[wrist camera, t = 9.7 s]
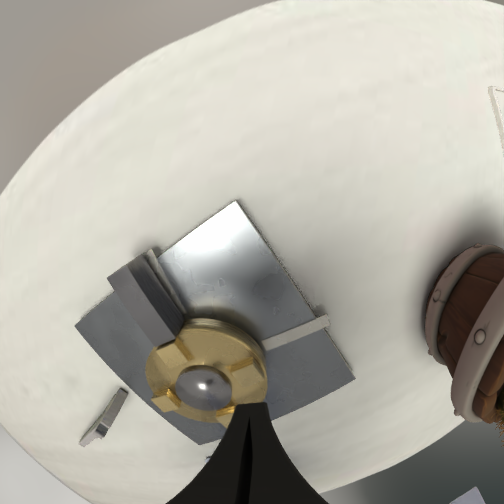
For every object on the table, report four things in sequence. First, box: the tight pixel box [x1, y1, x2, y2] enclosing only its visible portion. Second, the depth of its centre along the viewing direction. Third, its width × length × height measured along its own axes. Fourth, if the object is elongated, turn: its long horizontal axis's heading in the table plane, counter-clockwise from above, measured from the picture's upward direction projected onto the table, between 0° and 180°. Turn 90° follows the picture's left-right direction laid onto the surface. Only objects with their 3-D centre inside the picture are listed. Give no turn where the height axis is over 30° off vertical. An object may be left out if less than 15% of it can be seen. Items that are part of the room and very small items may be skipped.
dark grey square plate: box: [75, 200, 356, 445], centre depth 21 cm, size 19×19×1 cm
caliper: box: [79, 389, 128, 447], centre depth 22 cm, size 21×1×6 cm, turn 140°
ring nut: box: [107, 254, 267, 428], centre depth 18 cm, size 14×9×3 cm, turn 29°
